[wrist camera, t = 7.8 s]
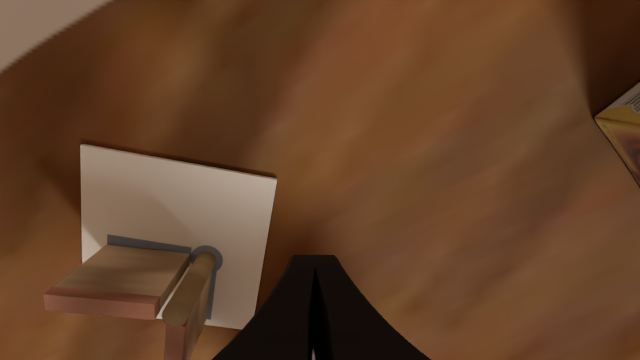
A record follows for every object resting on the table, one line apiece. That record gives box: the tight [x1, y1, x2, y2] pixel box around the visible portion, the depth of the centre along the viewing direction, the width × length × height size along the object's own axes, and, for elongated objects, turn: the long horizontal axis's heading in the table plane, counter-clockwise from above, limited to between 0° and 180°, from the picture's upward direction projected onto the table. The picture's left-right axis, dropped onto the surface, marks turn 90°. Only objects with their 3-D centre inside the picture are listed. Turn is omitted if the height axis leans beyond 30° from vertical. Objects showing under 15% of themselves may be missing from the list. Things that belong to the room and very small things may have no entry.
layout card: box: [80, 144, 277, 330], centre depth 20 cm, size 11×11×1 cm
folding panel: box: [43, 245, 190, 320], centre depth 17 cm, size 5×1×5 cm, turn 82°
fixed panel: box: [162, 251, 216, 360], centre depth 18 cm, size 5×1×5 cm, turn 169°
